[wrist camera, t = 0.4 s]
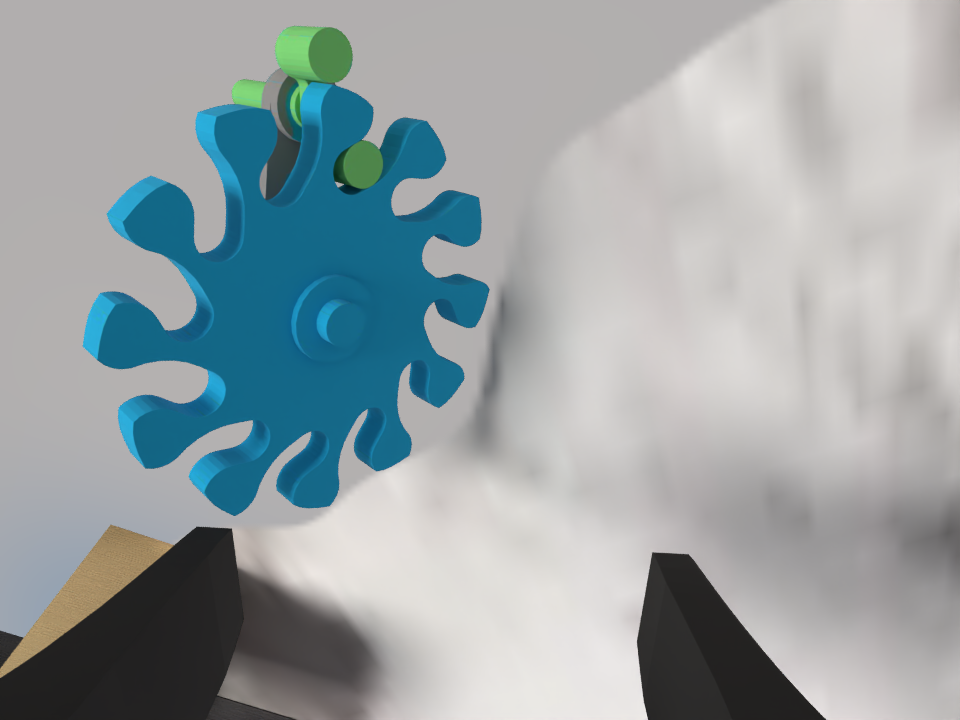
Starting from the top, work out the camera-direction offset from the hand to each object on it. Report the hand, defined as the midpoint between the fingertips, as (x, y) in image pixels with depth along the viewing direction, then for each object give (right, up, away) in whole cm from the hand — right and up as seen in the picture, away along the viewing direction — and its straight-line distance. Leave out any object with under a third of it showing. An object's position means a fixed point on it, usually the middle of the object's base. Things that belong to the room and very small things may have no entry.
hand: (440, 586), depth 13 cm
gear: (-3, +7, +8) cm, 11 cm away
